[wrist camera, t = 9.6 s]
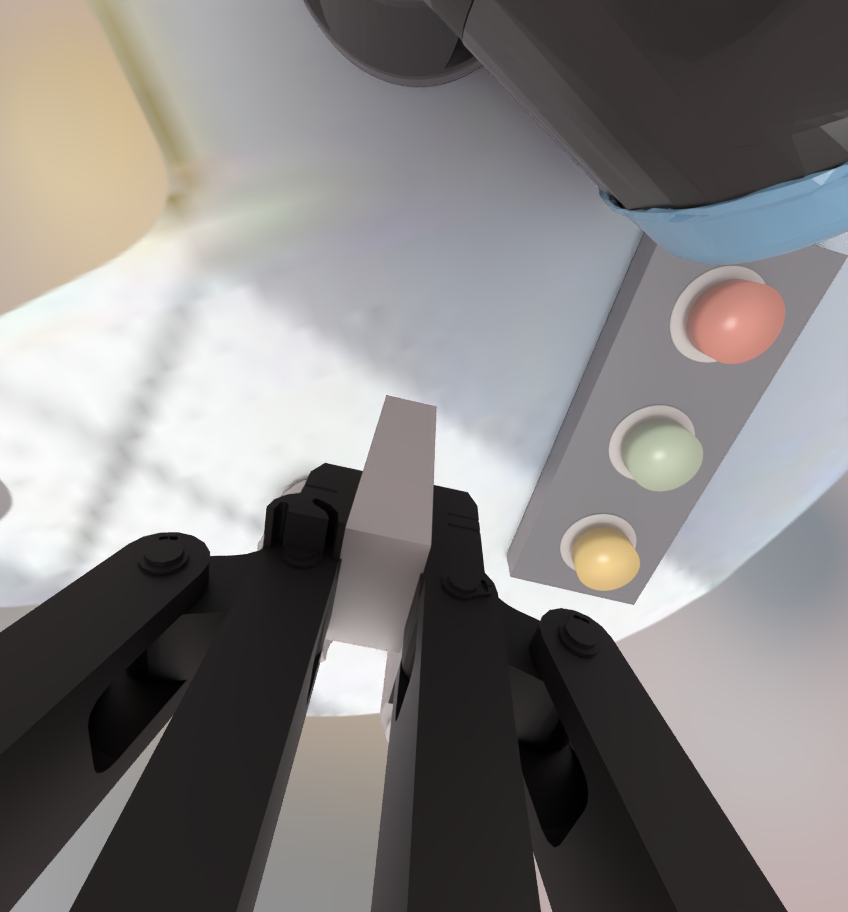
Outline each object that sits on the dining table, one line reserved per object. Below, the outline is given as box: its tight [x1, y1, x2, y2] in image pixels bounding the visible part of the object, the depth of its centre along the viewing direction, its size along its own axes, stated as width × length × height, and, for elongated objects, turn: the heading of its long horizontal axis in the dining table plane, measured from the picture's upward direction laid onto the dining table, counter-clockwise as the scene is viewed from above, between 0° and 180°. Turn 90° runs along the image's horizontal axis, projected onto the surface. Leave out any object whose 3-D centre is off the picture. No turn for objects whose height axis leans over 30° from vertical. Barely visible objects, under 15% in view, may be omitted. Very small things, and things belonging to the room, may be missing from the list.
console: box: [507, 232, 848, 605], centre depth 39 cm, size 31×12×3 cm, turn 165°
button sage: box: [622, 419, 703, 491], centre depth 36 cm, size 5×5×2 cm
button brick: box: [686, 279, 785, 364], centre depth 31 cm, size 5×5×2 cm
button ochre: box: [571, 527, 640, 591], centre depth 40 cm, size 5×5×2 cm
